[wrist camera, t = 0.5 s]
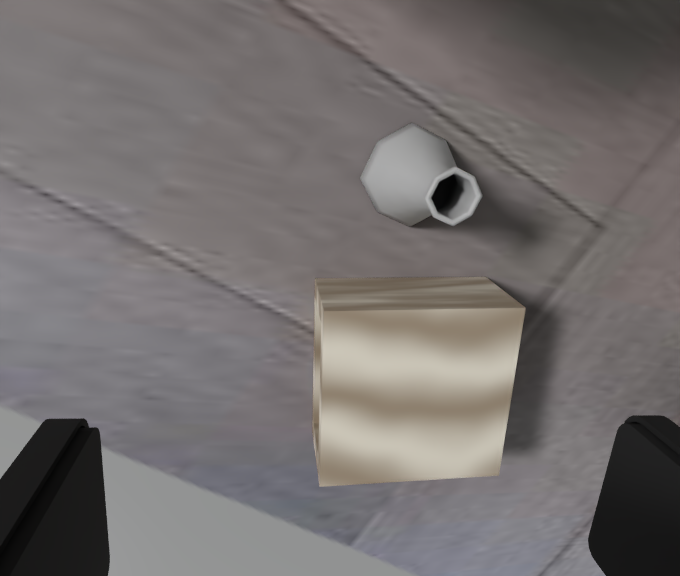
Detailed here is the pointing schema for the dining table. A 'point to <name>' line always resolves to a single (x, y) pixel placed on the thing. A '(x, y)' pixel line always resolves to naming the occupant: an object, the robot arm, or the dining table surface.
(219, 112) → the dining table surface
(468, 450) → the grooved beige box
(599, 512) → the robot arm
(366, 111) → the dining table surface
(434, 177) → the flask
